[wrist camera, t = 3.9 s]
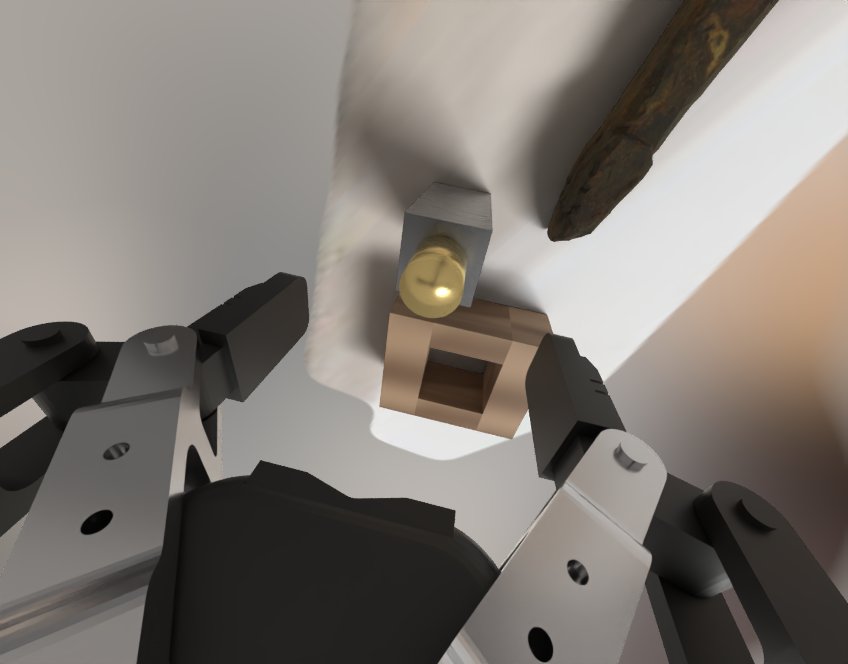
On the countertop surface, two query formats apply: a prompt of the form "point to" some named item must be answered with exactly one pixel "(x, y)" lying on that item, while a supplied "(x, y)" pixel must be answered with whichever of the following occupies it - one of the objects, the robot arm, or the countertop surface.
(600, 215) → the dark brown rod
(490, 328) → the housing
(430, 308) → the bit
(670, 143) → the countertop surface
